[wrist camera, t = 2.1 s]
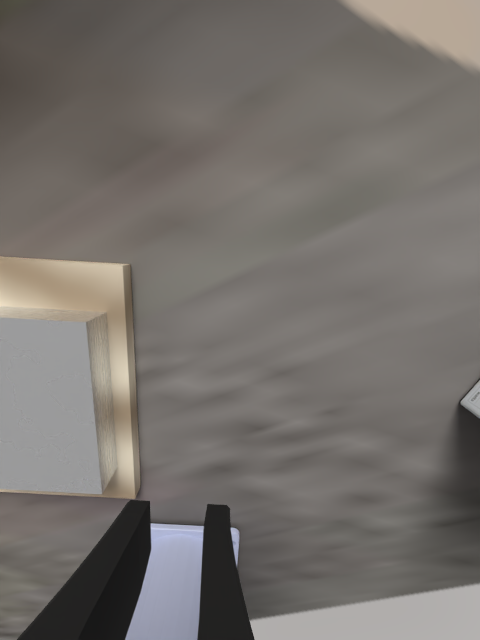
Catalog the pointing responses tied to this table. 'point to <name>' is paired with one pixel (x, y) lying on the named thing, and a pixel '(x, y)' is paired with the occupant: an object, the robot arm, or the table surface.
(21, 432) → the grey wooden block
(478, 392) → the light bulb box
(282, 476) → the table surface
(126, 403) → the board
